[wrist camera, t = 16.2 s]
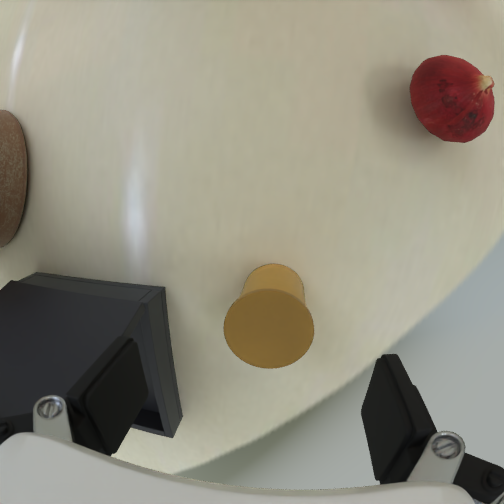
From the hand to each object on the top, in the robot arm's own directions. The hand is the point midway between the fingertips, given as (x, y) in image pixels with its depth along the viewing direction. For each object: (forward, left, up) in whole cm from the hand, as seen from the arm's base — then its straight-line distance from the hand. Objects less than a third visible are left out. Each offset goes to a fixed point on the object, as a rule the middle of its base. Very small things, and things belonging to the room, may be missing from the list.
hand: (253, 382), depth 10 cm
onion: (-1, +18, -12) cm, 21 cm away
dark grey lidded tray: (-5, -17, -11) cm, 21 cm away
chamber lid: (-9, -14, 0) cm, 16 cm away
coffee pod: (+1, 0, -11) cm, 11 cm away
